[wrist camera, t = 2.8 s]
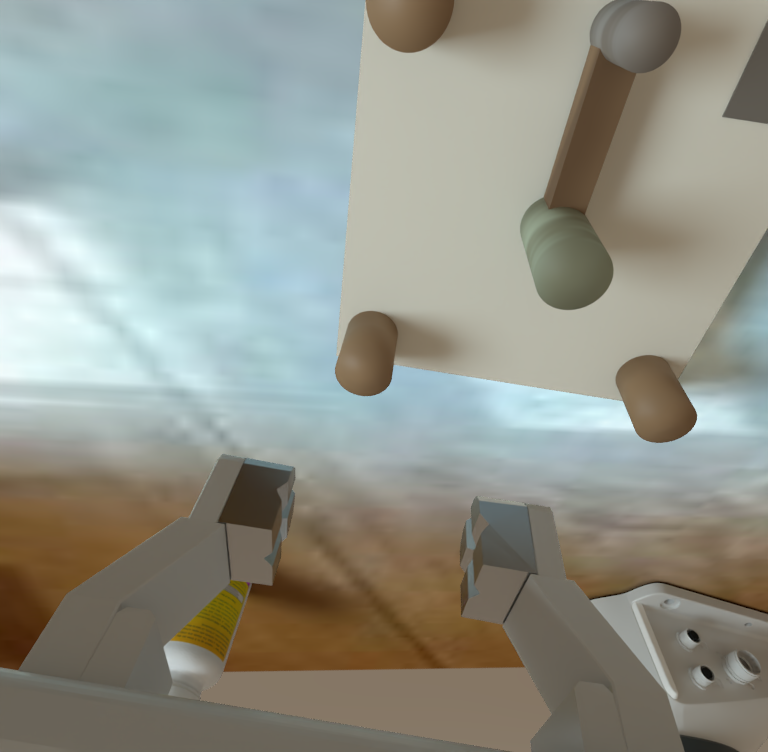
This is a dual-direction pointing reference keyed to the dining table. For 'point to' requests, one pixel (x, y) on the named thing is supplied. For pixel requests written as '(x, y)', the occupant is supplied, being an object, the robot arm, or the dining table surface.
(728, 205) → the stool seat
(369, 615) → the dining table surface
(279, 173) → the dining table surface
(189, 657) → the supplement bottle
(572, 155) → the swing leg
